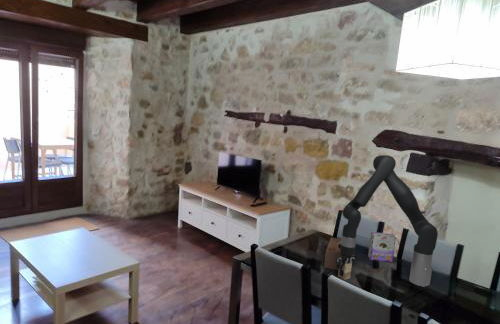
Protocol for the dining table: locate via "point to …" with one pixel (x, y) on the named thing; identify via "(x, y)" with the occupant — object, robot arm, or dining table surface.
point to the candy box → (381, 247)
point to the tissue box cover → (332, 253)
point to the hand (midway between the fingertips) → (344, 274)
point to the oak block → (346, 271)
